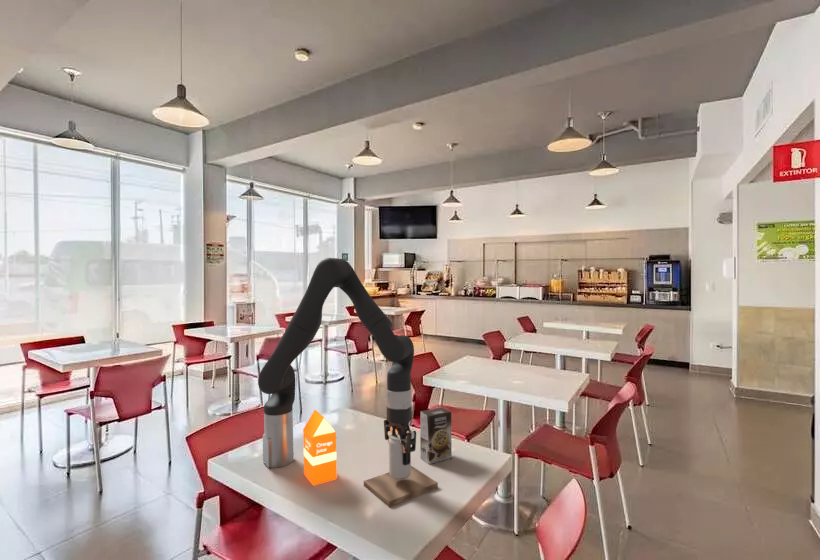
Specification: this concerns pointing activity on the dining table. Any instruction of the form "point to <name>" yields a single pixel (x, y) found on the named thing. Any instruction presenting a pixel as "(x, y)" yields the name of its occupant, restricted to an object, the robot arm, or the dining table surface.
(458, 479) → the dining table surface
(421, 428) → the coffee box
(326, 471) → the orange juice
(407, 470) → the beverage can
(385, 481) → the walnut board
